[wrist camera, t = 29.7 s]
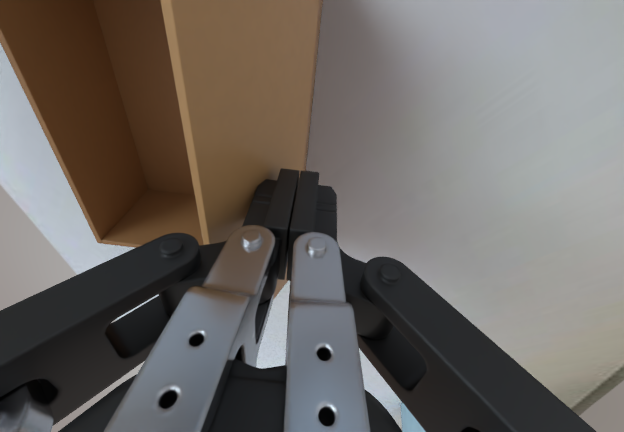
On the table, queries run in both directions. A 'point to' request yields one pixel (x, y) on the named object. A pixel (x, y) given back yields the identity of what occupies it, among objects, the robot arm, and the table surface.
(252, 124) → the flap
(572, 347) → the table surface
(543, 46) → the table surface
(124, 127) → the carton
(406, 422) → the cup
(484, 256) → the table surface
